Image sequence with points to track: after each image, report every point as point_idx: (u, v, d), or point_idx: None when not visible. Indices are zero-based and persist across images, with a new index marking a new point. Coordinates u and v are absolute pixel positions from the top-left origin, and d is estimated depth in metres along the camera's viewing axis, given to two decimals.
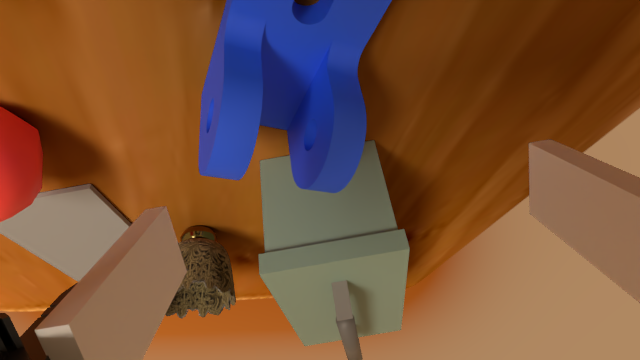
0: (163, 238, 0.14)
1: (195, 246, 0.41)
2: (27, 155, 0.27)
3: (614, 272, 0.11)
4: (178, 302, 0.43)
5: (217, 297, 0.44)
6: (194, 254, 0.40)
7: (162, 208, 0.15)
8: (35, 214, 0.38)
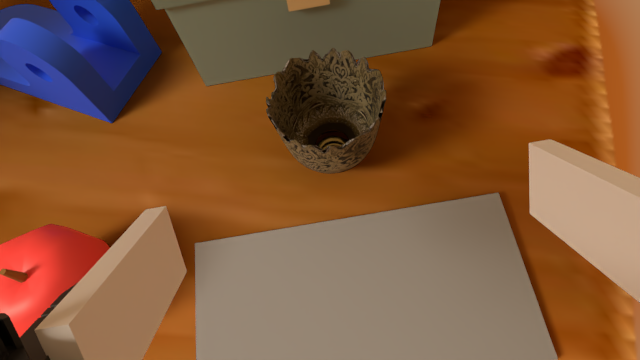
0: (163, 238, 0.14)
1: None
2: None
3: (614, 272, 0.11)
4: None
5: (372, 88, 0.28)
6: None
7: (162, 208, 0.15)
8: (230, 330, 0.28)
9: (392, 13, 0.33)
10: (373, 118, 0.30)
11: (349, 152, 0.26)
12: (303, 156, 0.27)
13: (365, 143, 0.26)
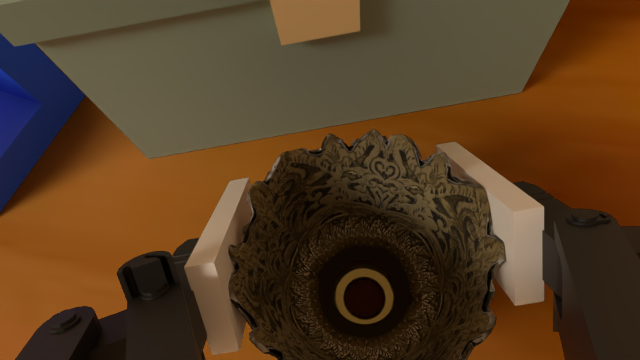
0: None
1: None
2: None
3: None
4: (456, 342, 0.11)
5: (457, 213, 0.13)
6: None
7: (246, 179, 0.16)
8: None
9: (470, 43, 0.18)
10: (450, 260, 0.15)
11: None
12: None
13: None
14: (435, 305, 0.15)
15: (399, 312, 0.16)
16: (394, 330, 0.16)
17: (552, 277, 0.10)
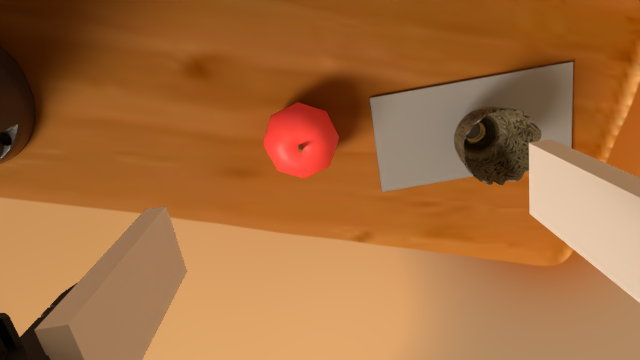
0: (163, 238, 0.14)
1: (454, 134, 0.44)
2: None
3: (614, 272, 0.11)
4: (518, 166, 0.42)
5: (527, 128, 0.41)
6: (455, 136, 0.43)
7: (162, 208, 0.15)
8: (397, 150, 0.48)
9: None
10: (516, 133, 0.44)
11: None
12: None
13: None
14: (505, 142, 0.45)
15: (489, 141, 0.46)
16: (487, 148, 0.46)
17: None
